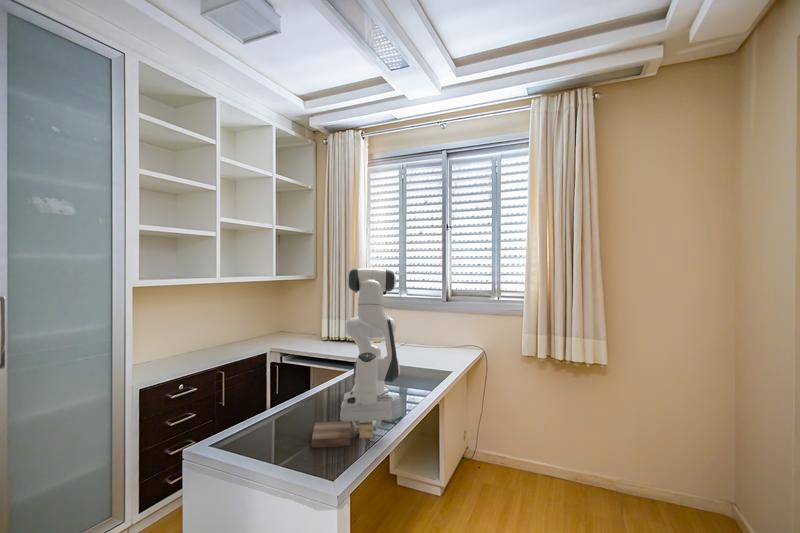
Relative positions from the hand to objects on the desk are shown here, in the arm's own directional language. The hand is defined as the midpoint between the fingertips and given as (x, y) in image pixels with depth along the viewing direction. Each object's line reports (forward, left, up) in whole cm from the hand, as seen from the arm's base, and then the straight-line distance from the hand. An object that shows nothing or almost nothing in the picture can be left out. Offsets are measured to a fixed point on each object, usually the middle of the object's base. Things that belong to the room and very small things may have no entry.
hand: (365, 430), depth 146 cm
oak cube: (0, 0, -2) cm, 2 cm away
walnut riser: (+1, -13, -2) cm, 13 cm away
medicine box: (-14, +12, -2) cm, 19 cm away
